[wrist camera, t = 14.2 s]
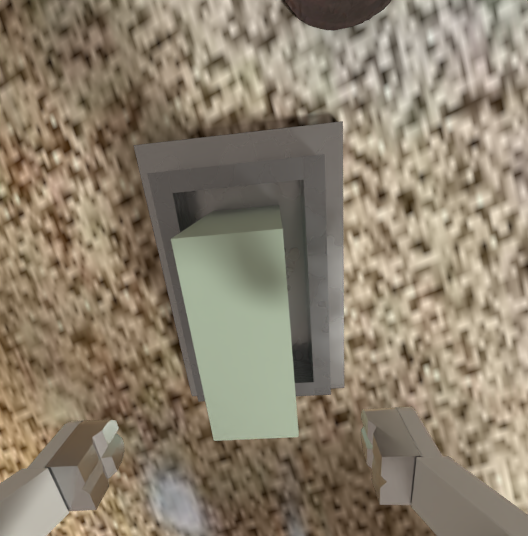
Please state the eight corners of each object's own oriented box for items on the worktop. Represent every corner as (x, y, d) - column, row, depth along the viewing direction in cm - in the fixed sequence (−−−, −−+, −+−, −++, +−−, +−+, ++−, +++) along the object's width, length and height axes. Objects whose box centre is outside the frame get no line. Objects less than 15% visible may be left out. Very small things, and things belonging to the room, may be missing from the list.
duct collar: (341, 380, 24) (352, 412, 21) (194, 389, 25) (183, 420, 22) (339, 123, 17) (354, 113, 14) (139, 146, 18) (111, 141, 15)
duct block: (278, 204, 18) (282, 228, 11) (290, 345, 22) (298, 437, 14) (212, 211, 19) (170, 239, 11) (234, 349, 22) (213, 440, 15)
